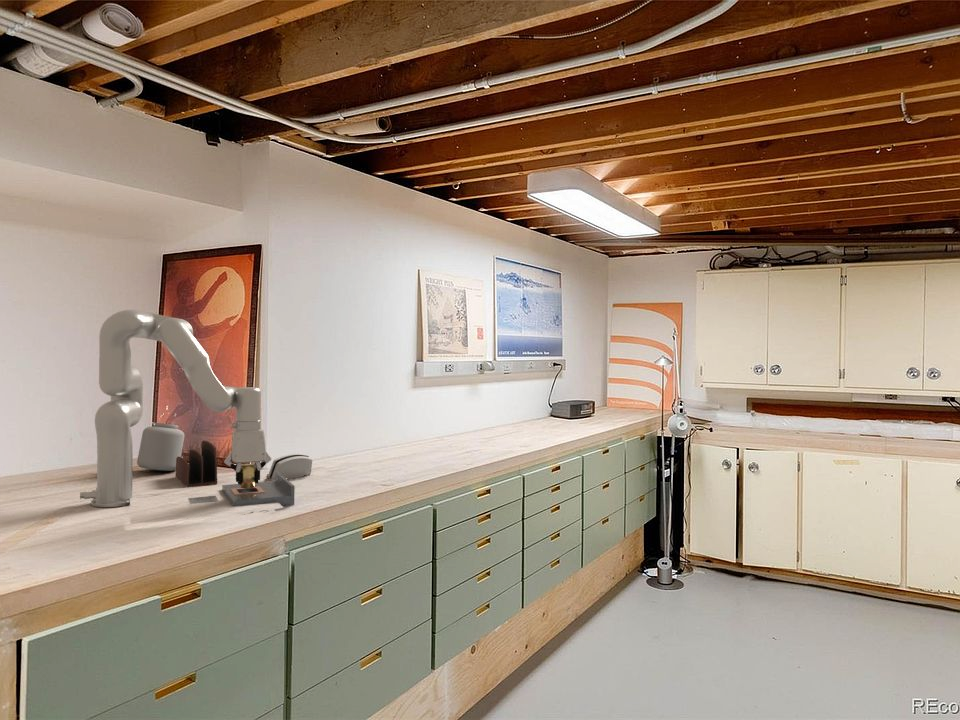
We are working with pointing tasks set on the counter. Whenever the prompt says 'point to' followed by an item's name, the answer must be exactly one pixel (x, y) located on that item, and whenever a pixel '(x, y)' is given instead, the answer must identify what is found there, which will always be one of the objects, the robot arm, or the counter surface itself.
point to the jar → (160, 447)
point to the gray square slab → (203, 499)
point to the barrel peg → (248, 475)
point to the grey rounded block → (291, 466)
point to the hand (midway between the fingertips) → (248, 482)
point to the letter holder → (198, 467)
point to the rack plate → (262, 492)
